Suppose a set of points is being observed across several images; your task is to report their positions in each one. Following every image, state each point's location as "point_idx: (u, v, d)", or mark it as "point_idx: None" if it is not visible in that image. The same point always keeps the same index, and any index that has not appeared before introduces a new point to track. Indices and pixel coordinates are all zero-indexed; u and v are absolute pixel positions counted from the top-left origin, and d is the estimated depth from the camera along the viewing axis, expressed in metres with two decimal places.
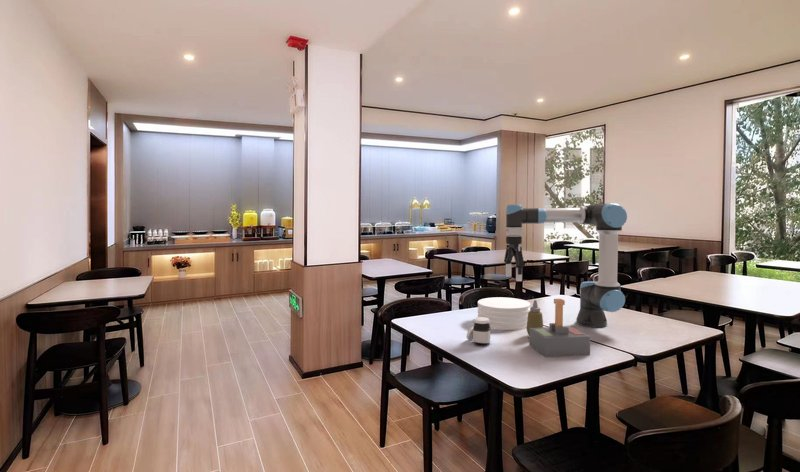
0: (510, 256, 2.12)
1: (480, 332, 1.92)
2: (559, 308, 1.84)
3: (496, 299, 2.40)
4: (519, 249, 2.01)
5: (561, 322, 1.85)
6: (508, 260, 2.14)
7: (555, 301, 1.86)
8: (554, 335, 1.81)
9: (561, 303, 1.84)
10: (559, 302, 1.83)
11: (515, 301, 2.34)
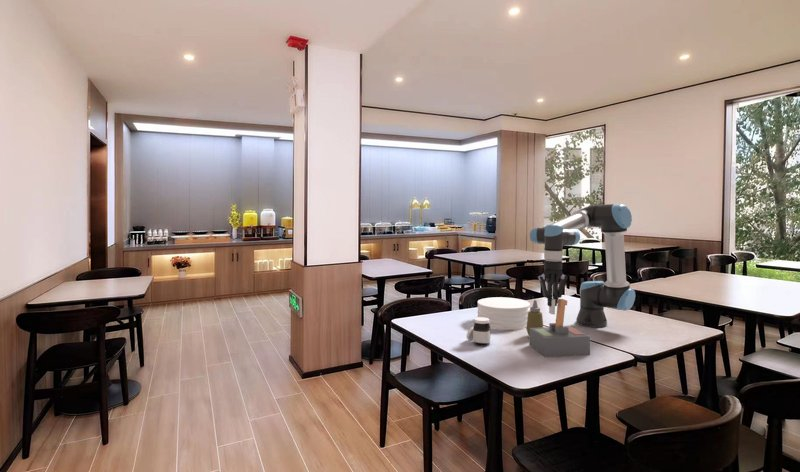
0: (553, 285, 1.85)
1: (480, 332, 1.92)
2: (561, 308, 1.84)
3: (496, 299, 2.40)
4: (540, 279, 1.84)
5: (562, 322, 1.85)
6: (553, 292, 1.86)
7: (558, 301, 1.86)
8: (554, 335, 1.81)
9: (563, 303, 1.84)
10: (562, 302, 1.84)
11: (515, 301, 2.34)
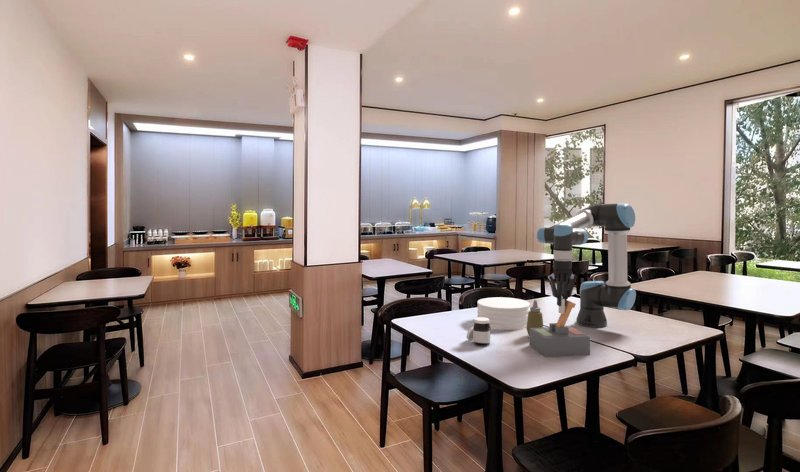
0: (563, 285, 1.86)
1: (480, 332, 1.92)
2: (567, 309, 1.85)
3: (496, 299, 2.40)
4: (549, 279, 1.84)
5: (564, 323, 1.85)
6: (562, 291, 1.86)
7: (566, 302, 1.86)
8: (554, 335, 1.81)
9: (571, 305, 1.84)
10: (570, 303, 1.84)
11: (515, 301, 2.34)
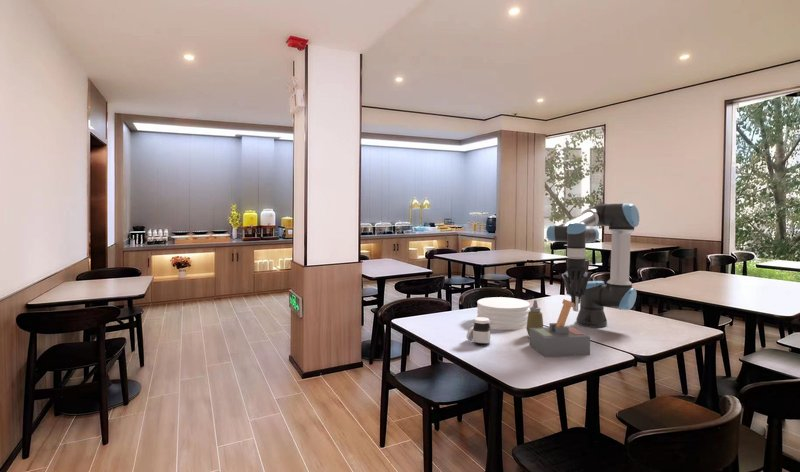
0: (576, 283, 1.86)
1: (480, 332, 1.92)
2: (566, 308, 1.85)
3: (496, 299, 2.40)
4: (563, 277, 1.85)
5: (563, 323, 1.85)
6: (576, 289, 1.87)
7: (564, 301, 1.86)
8: (554, 335, 1.81)
9: (570, 305, 1.84)
10: (568, 303, 1.84)
11: (515, 301, 2.34)
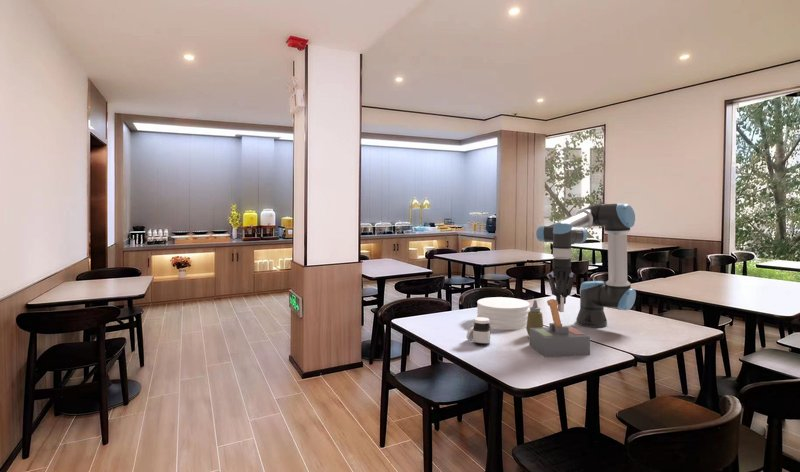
0: (562, 283, 1.85)
1: (480, 332, 1.92)
2: (553, 309, 1.84)
3: (496, 299, 2.40)
4: (548, 277, 1.84)
5: (559, 322, 1.85)
6: (562, 290, 1.86)
7: (548, 303, 1.86)
8: (554, 335, 1.81)
9: (554, 304, 1.83)
10: (552, 304, 1.83)
11: (514, 301, 2.34)
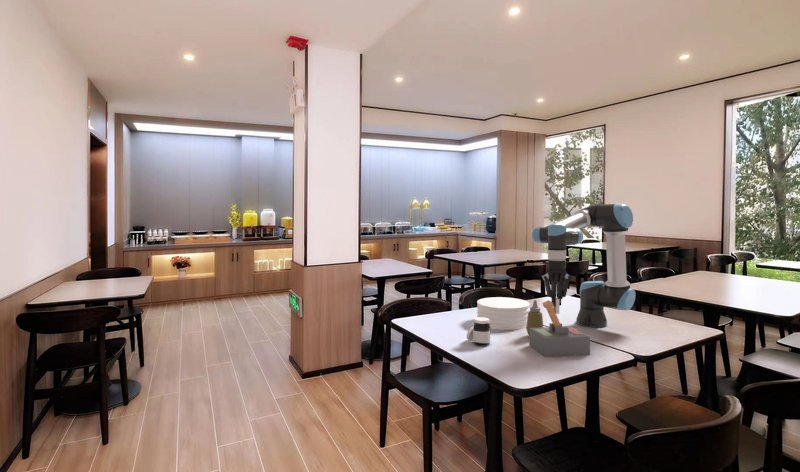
0: (557, 285, 1.85)
1: (480, 332, 1.92)
2: (550, 311, 1.84)
3: (495, 299, 2.40)
4: (544, 279, 1.84)
5: (558, 322, 1.85)
6: (557, 291, 1.85)
7: (544, 305, 1.85)
8: (554, 335, 1.81)
9: (550, 306, 1.83)
10: (548, 306, 1.83)
11: (514, 301, 2.34)
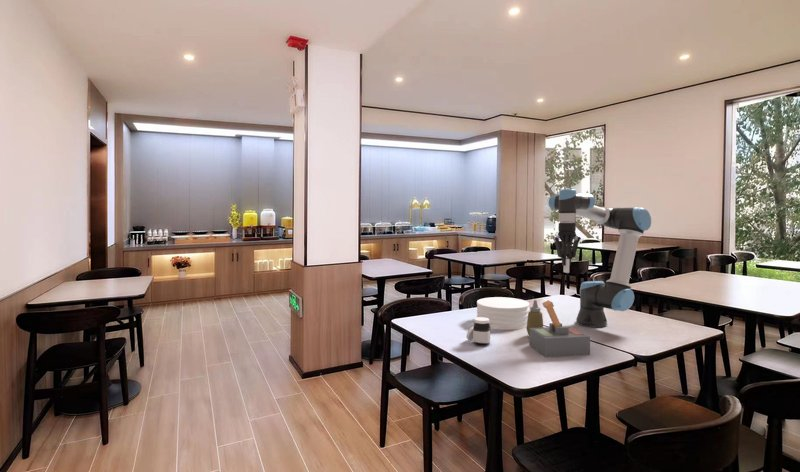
0: (567, 246, 1.98)
1: (480, 332, 1.92)
2: (550, 311, 1.84)
3: (495, 299, 2.40)
4: (555, 240, 1.97)
5: (558, 322, 1.85)
6: (567, 252, 1.99)
7: (544, 305, 1.85)
8: (554, 335, 1.81)
9: (550, 306, 1.83)
10: (548, 306, 1.83)
11: (514, 301, 2.35)
